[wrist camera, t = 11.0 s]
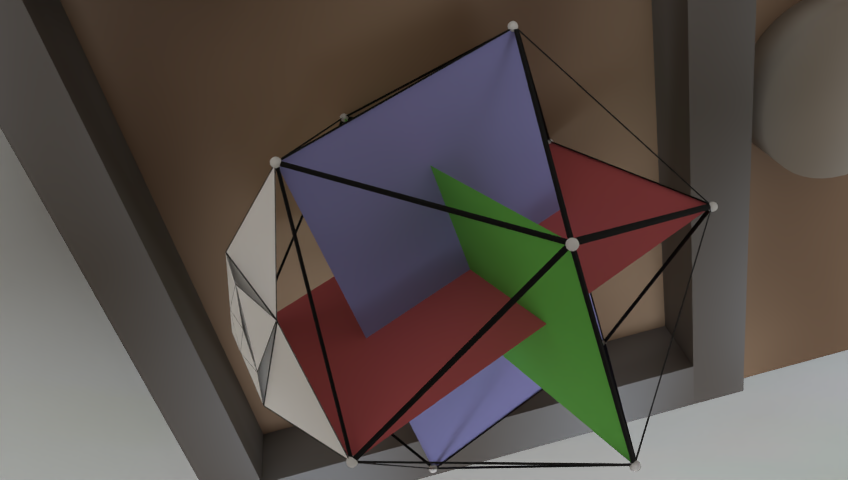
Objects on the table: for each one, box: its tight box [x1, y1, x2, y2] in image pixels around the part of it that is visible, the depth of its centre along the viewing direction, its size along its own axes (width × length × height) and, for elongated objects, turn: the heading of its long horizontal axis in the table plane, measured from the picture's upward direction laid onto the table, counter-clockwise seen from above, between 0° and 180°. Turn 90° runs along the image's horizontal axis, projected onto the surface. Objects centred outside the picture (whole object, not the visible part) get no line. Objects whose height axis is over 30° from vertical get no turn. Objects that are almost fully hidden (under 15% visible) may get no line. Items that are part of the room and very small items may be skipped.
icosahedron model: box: [226, 21, 718, 473], centre depth 13 cm, size 7×7×8 cm
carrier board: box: [0, 0, 848, 480], centre depth 15 cm, size 18×16×2 cm
